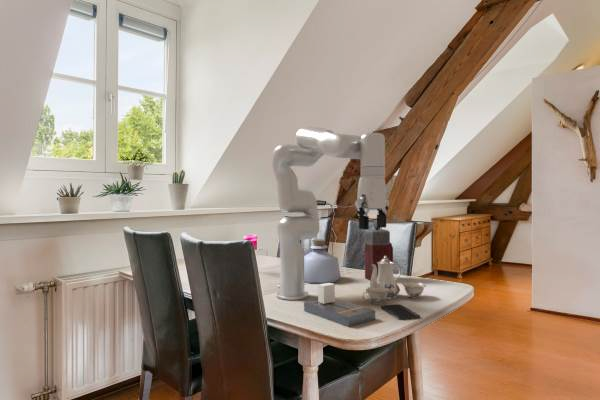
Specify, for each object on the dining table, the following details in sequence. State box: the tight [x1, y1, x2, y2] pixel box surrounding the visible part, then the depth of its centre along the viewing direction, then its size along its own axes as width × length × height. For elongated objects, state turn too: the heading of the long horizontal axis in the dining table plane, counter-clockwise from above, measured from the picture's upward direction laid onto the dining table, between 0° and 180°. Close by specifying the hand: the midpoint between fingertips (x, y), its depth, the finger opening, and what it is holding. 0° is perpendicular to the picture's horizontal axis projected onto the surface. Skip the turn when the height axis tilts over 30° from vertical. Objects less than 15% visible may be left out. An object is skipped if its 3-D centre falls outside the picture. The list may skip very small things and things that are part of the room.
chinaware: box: [362, 256, 427, 305], centre depth 160 cm, size 28×17×17 cm, turn 122°
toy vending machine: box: [364, 219, 394, 281], centre depth 195 cm, size 9×11×28 cm
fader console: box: [303, 298, 376, 328], centre depth 138 cm, size 22×12×3 cm, turn 37°
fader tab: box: [317, 283, 336, 304], centre depth 143 cm, size 3×5×6 cm, turn 127°
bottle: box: [304, 238, 341, 285], centre depth 196 cm, size 20×20×19 cm
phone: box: [380, 303, 421, 321], centre depth 140 cm, size 8×1×15 cm
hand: (372, 228), depth 129 cm, fingers open, 9 cm apart
